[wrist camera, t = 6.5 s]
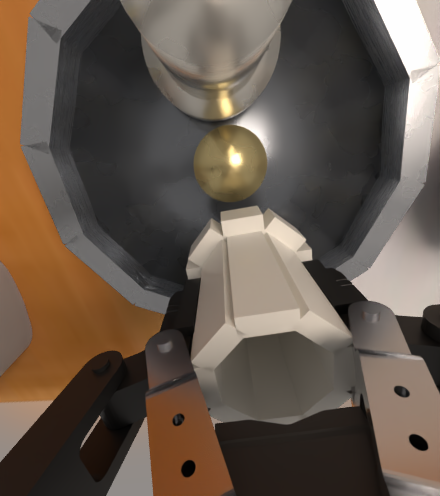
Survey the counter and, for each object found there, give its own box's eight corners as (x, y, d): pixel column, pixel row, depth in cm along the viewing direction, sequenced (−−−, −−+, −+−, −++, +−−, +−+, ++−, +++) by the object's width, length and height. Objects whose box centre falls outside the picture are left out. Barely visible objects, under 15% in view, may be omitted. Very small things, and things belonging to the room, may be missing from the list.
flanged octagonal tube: (180, 218, 14) (137, 306, 6) (298, 198, 13) (396, 266, 6) (203, 314, 16) (191, 457, 9) (304, 299, 16) (379, 435, 8)
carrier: (122, 315, 21) (58, 432, 13) (-5, -13, 13) (-410, -299, 5) (381, 276, 20) (504, 375, 11) (411, -111, 12) (884, -729, 4)
